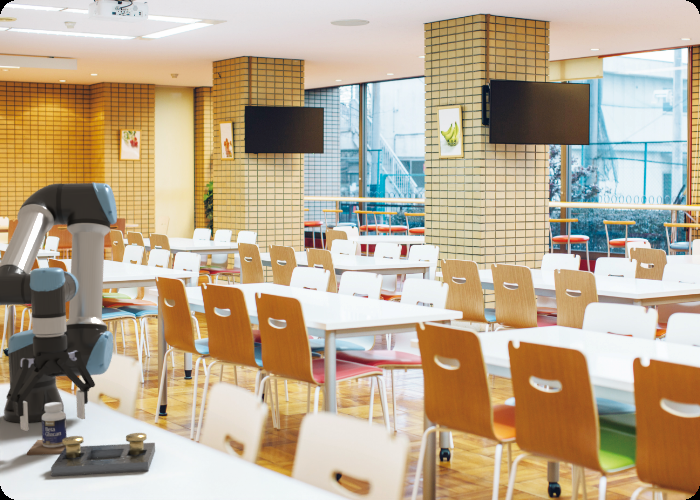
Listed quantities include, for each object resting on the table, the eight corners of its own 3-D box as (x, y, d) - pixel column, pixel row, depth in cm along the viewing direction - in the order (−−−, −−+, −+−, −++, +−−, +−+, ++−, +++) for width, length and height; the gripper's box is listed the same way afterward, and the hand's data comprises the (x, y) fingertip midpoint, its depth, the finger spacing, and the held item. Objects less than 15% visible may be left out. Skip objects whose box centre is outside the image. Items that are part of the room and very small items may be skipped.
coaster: (37, 442, 202) (37, 439, 201) (80, 440, 203) (80, 437, 203) (26, 455, 192) (26, 452, 192) (72, 452, 193) (71, 450, 193)
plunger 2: (128, 450, 188) (127, 433, 187) (148, 449, 188) (147, 432, 188) (125, 456, 183) (124, 439, 183) (145, 455, 184) (145, 438, 184)
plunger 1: (65, 453, 186) (64, 436, 186) (85, 452, 186) (85, 435, 186) (61, 459, 182) (60, 442, 181) (81, 458, 182) (81, 441, 182)
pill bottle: (43, 449, 194) (41, 408, 193) (41, 443, 199) (40, 402, 198) (67, 446, 196) (66, 405, 195) (65, 440, 201) (64, 400, 200)
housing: (65, 455, 191) (65, 447, 191) (155, 451, 193) (154, 442, 193) (51, 476, 177) (51, 467, 177) (148, 471, 179) (147, 461, 179)
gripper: (93, 326, 206) (96, 410, 208) (-11, 339, 190) (-7, 431, 191) (107, 329, 201) (110, 416, 202) (1, 343, 184) (5, 437, 186)
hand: (53, 423), depth 197 cm, fingers open, 13 cm apart
